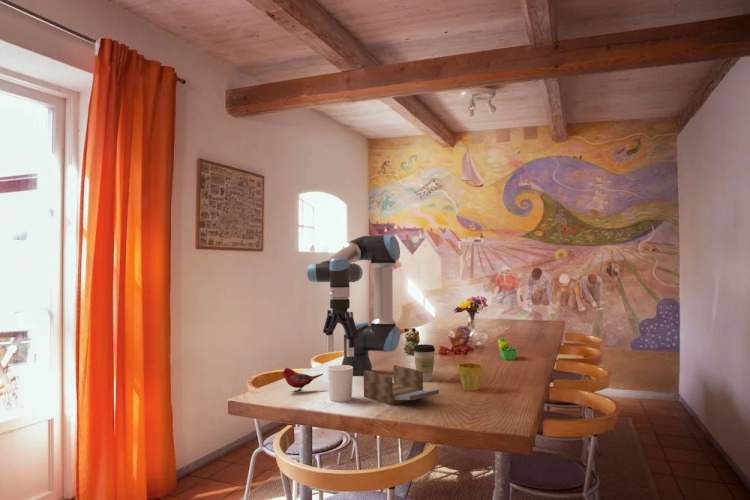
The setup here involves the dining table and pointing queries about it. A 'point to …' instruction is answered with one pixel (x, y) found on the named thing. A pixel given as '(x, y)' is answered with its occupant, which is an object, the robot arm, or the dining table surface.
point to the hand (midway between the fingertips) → (340, 354)
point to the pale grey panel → (416, 395)
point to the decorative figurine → (411, 341)
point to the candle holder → (340, 382)
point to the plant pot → (470, 375)
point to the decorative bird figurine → (297, 379)
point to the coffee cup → (424, 360)
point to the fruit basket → (506, 350)
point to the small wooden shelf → (392, 384)
